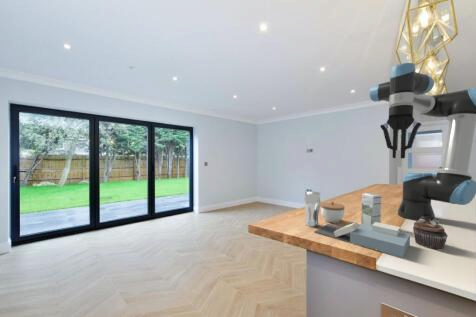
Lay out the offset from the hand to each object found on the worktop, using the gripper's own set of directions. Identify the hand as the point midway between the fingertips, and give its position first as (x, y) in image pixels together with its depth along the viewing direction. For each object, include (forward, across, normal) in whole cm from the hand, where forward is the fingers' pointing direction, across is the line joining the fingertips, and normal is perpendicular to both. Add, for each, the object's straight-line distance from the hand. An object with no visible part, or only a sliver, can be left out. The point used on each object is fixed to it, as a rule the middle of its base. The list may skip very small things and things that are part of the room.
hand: (398, 166), depth 85 cm
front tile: (+26, -13, -15) cm, 32 cm away
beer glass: (+29, -30, -10) cm, 43 cm away
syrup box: (+29, -11, +10) cm, 32 cm away
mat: (+28, -18, -11) cm, 35 cm away
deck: (+28, -3, -11) cm, 31 cm away
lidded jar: (+29, -26, +3) cm, 39 cm away
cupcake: (+29, +10, +2) cm, 30 cm away
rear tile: (+24, -2, -7) cm, 25 cm away
